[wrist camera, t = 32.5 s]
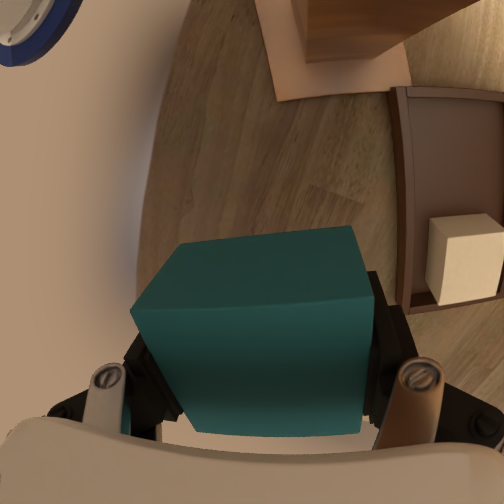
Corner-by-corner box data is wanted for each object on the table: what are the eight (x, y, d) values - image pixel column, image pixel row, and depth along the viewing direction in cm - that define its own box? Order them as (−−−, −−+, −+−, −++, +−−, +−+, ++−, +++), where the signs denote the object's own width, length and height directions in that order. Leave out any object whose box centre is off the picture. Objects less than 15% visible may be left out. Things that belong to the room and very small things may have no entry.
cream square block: (424, 280, 24) (438, 306, 21) (428, 217, 22) (447, 237, 18) (477, 272, 23) (495, 296, 20) (485, 212, 21) (508, 231, 17)
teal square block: (219, 360, 14) (196, 432, 10) (179, 243, 11) (128, 310, 7) (352, 354, 12) (359, 433, 9) (351, 224, 10) (374, 297, 6)
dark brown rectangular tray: (394, 299, 26) (400, 316, 24) (385, 88, 19) (394, 86, 16) (493, 284, 24) (504, 298, 22) (504, 93, 16) (520, 94, 14)
